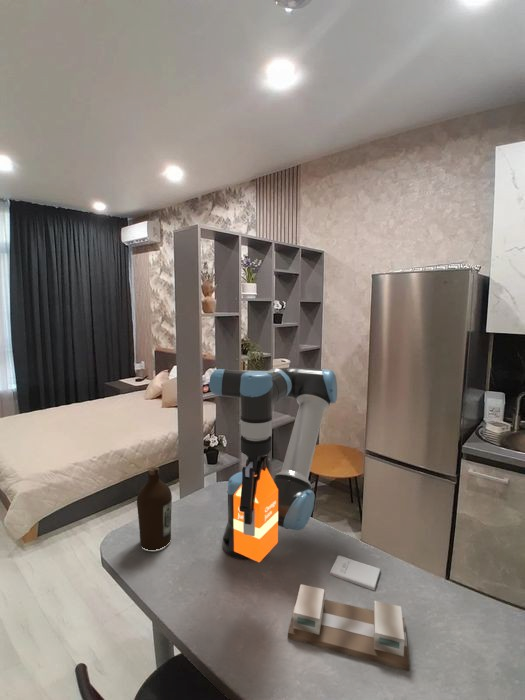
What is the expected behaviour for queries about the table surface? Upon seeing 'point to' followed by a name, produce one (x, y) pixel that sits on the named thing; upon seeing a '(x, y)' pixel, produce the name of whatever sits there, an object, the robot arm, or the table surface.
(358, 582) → the external hard drive
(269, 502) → the orange juice
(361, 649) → the rail board
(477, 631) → the table surface
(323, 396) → the robot arm
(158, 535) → the olive oil
